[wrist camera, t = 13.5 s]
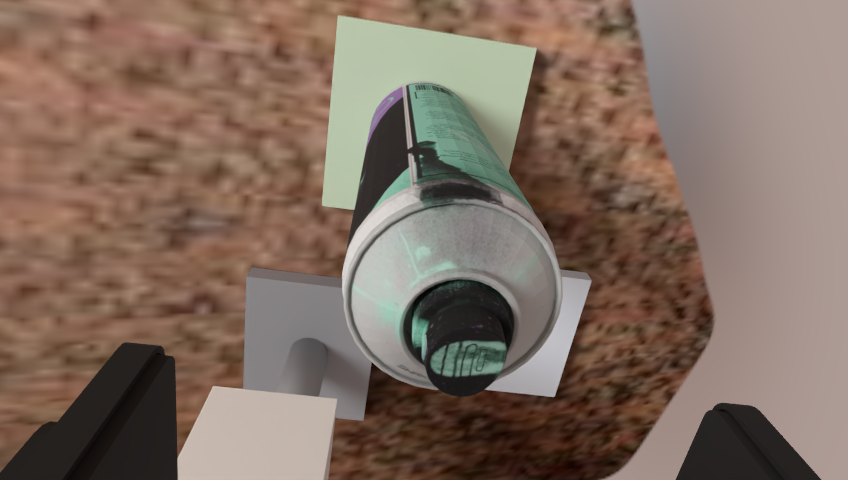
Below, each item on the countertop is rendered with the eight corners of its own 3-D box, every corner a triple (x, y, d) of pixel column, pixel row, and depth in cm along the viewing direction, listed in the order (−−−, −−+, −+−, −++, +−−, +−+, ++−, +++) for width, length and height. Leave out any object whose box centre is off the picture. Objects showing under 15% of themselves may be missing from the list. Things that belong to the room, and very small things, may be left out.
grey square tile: (551, 387, 38) (554, 397, 37) (422, 373, 37) (422, 383, 36) (586, 272, 34) (591, 280, 33) (444, 254, 33) (445, 261, 32)
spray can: (352, 106, 28) (275, 306, 10) (450, 62, 28) (556, 193, 9) (395, 197, 31) (396, 498, 12) (487, 159, 30) (631, 416, 12)
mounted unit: (363, 419, 38) (323, 804, 20) (247, 407, 38) (98, 796, 20) (384, 268, 34) (357, 596, 15) (252, 252, 33) (59, 575, 15)
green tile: (493, 222, 33) (495, 228, 32) (324, 199, 32) (321, 205, 31) (532, 46, 28) (536, 48, 28) (340, 14, 28) (338, 15, 27)
